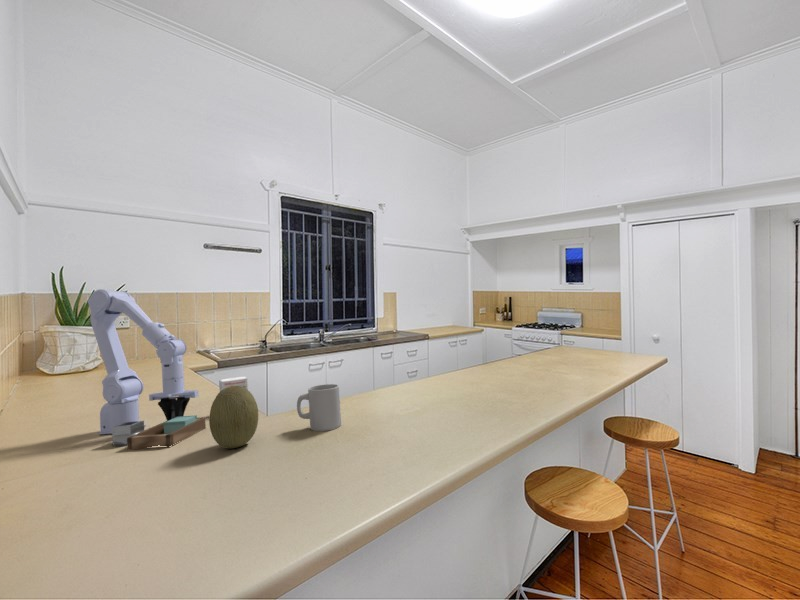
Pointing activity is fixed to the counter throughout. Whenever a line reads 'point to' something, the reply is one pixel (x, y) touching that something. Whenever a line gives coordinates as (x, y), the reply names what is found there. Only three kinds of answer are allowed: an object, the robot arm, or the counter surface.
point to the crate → (178, 423)
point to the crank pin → (173, 413)
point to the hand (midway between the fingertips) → (175, 422)
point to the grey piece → (126, 432)
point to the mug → (322, 407)
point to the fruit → (233, 417)
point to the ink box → (233, 382)
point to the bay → (163, 435)
